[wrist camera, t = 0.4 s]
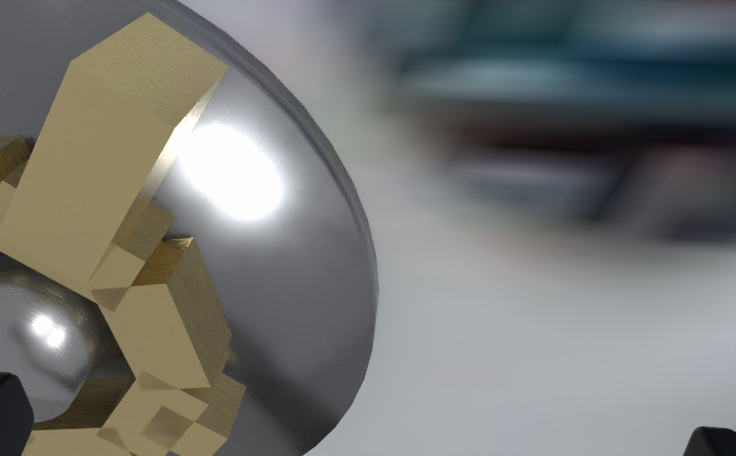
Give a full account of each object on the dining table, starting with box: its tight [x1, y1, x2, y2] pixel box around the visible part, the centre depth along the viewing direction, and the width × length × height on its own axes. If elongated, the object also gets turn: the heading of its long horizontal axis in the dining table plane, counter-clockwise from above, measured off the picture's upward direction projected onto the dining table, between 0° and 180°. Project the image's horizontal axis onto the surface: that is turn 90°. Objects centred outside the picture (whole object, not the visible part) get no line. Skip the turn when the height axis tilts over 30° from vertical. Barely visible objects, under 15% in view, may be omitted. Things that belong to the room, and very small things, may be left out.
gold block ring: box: [0, 12, 246, 456], centre depth 19 cm, size 19×15×4 cm
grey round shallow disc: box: [0, 0, 379, 456], centre depth 21 cm, size 23×23×5 cm
